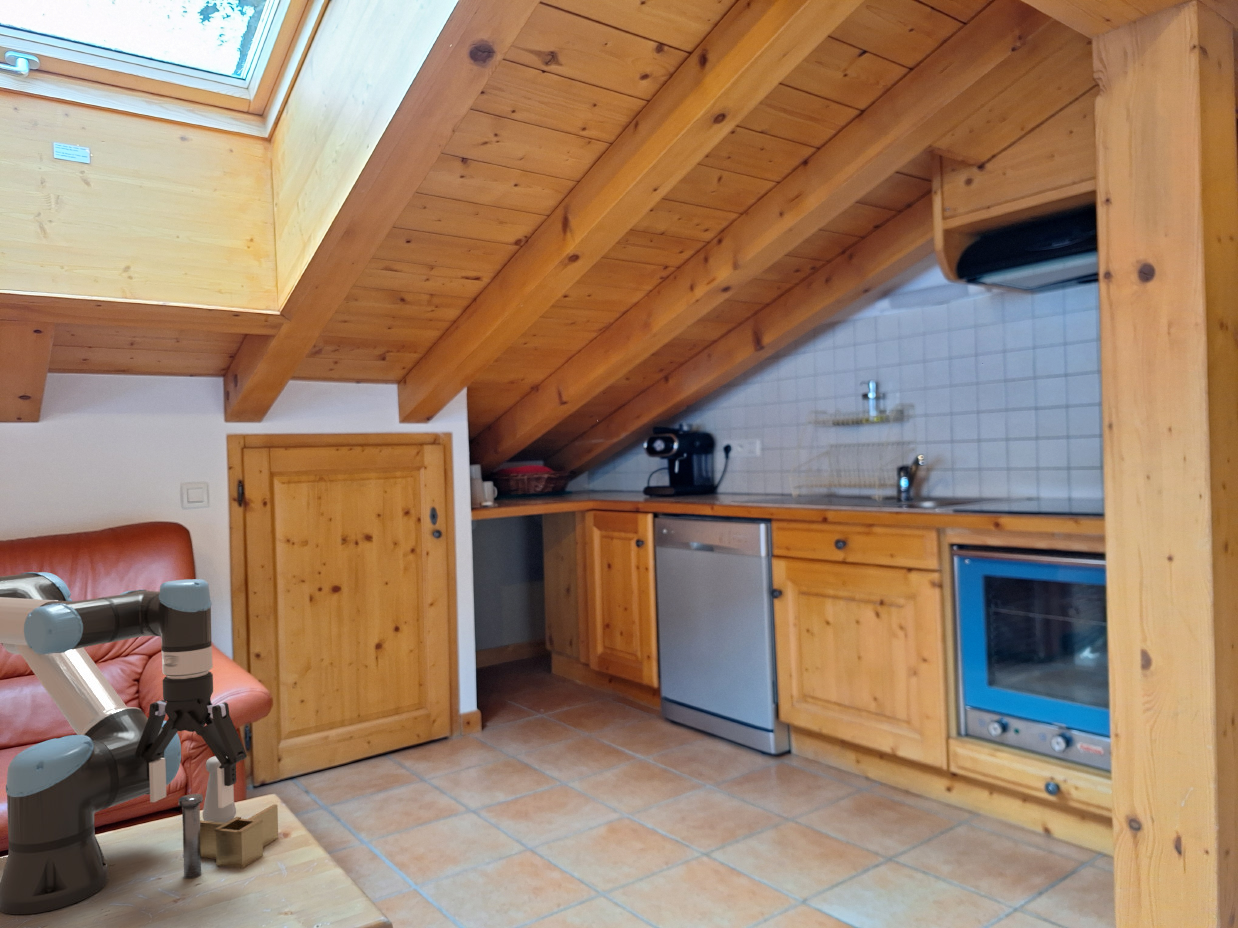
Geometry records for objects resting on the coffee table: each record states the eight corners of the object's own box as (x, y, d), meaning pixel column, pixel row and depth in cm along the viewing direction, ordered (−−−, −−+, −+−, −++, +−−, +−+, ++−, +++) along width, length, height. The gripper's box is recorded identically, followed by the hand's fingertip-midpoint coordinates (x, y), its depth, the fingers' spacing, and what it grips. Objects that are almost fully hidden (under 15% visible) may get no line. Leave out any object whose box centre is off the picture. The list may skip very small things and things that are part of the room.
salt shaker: (196, 831, 165) (194, 761, 165) (215, 819, 170) (213, 751, 170) (224, 832, 164) (222, 762, 164) (242, 820, 169) (241, 752, 169)
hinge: (182, 861, 152) (181, 825, 152) (232, 832, 163) (231, 799, 163) (242, 868, 148) (241, 831, 148) (289, 838, 160) (288, 804, 160)
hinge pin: (175, 878, 145) (173, 800, 145) (191, 868, 149) (189, 792, 149) (193, 880, 144) (191, 802, 144) (209, 870, 148) (207, 794, 148)
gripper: (108, 676, 146) (112, 805, 146) (235, 681, 139) (239, 815, 139) (144, 666, 154) (148, 789, 153) (266, 670, 147) (270, 798, 146)
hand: (191, 802), depth 146 cm, fingers open, 13 cm apart
